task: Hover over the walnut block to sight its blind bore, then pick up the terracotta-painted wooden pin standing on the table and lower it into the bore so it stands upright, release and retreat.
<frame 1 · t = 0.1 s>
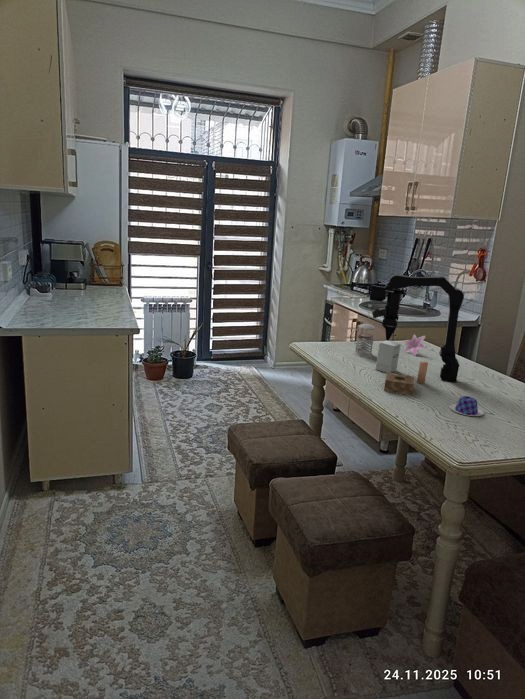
hand: (387, 338, 238), 15 cm above the table, fingers open, 9 cm apart
supplement box: (385, 370, 242), on the table
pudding: (465, 412, 199), on the table
bore block: (398, 388, 217), on the table
lily: (413, 353, 275), on the table
pin: (420, 382, 228), on the table
french press: (361, 354, 265), on the table
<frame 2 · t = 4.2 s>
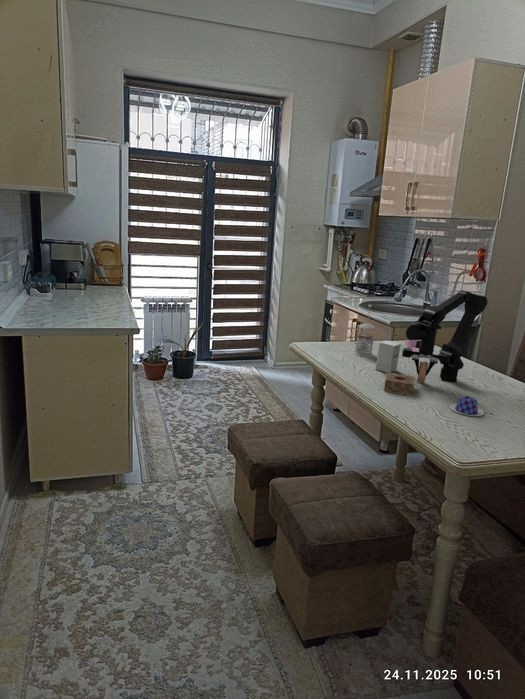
hand: (422, 374, 227), 3 cm above the table, fingers closed on pin, 3 cm apart
pin: (420, 382, 228), on the table, touching gripper
everything else where it was.
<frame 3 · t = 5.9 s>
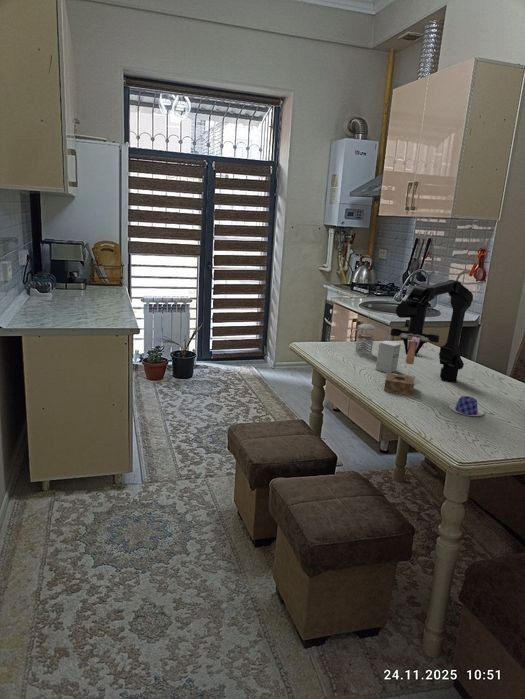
hand: (410, 355, 217), 14 cm above the table, fingers closed on pin, 3 cm apart
pin: (409, 363, 218), point 10 cm above the table, touching gripper
everything else where it was.
when the fingers open (5 cm above the table, at t = 7.6 s): pin stays where it is, resting on bore block.
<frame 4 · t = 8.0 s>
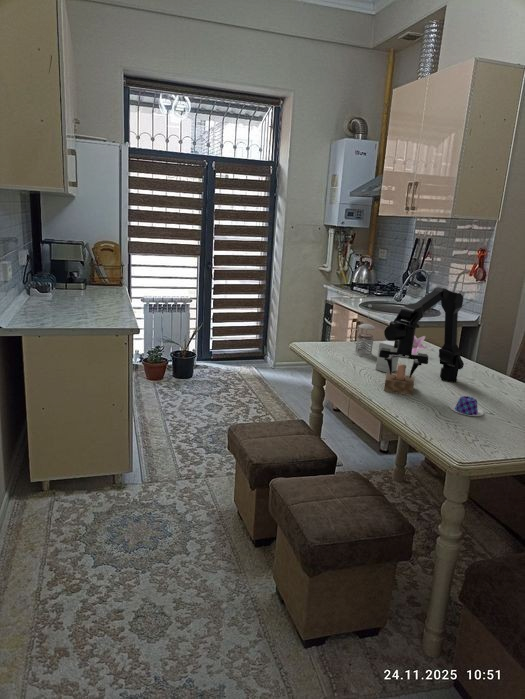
hand: (400, 376, 215), 5 cm above the table, fingers open, 7 cm apart
pin: (398, 386, 217), point 1 cm above the table, touching bore block
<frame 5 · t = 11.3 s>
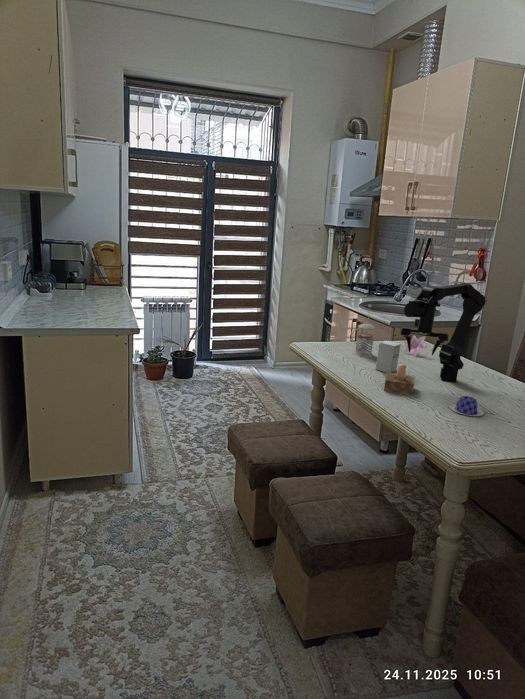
hand: (420, 353, 224), 13 cm above the table, fingers open, 9 cm apart
at the end: pin 0.0 cm off-centre on the bore block, point 1.0 cm above the bore block's base; pin tilted 0°; the gripper is holding nothing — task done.
